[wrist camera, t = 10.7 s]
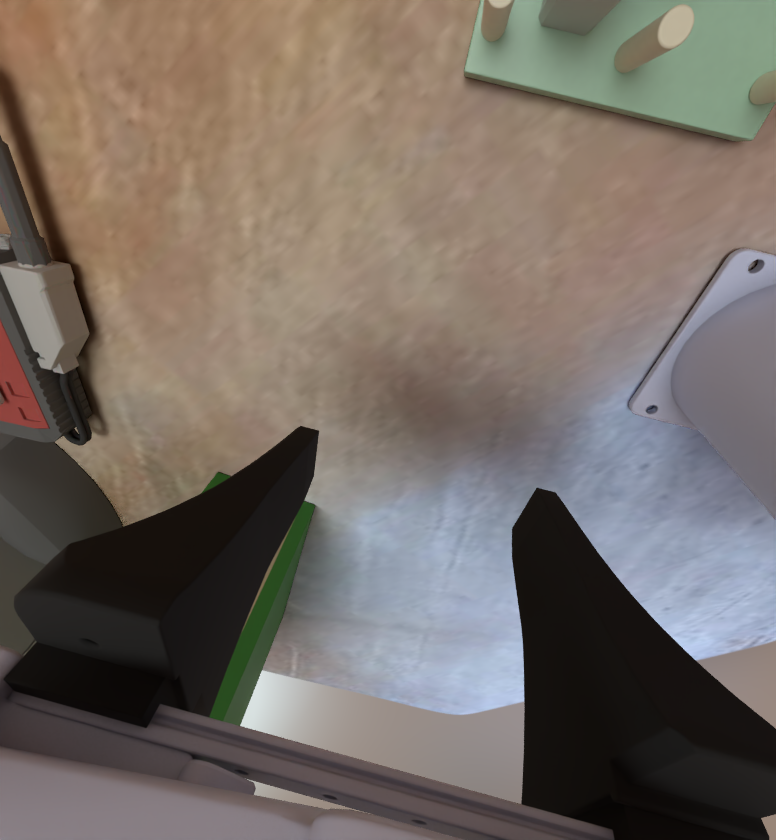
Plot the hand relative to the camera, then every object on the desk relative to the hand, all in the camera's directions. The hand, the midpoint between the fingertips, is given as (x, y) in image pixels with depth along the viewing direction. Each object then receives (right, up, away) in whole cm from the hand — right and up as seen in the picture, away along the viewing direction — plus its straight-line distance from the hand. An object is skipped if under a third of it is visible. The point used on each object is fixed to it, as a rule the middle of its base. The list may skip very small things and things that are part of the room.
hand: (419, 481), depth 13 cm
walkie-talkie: (-22, +10, +9) cm, 26 cm away
